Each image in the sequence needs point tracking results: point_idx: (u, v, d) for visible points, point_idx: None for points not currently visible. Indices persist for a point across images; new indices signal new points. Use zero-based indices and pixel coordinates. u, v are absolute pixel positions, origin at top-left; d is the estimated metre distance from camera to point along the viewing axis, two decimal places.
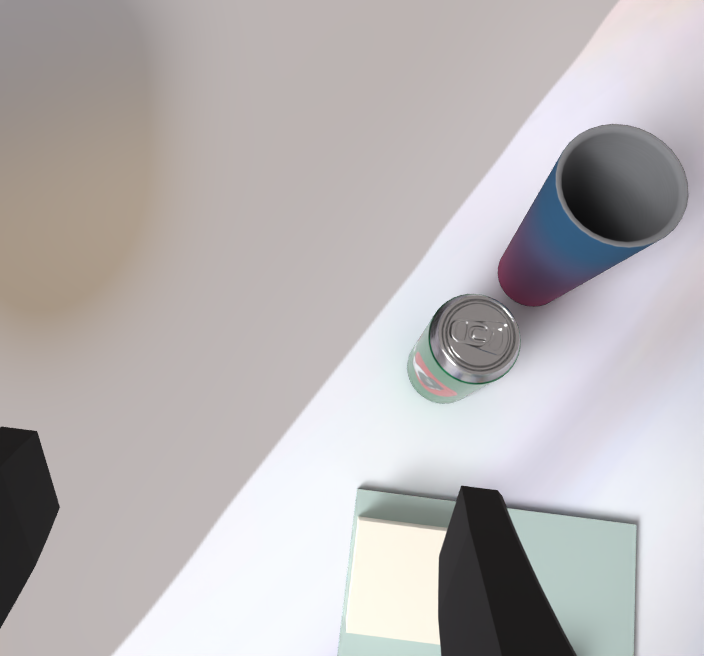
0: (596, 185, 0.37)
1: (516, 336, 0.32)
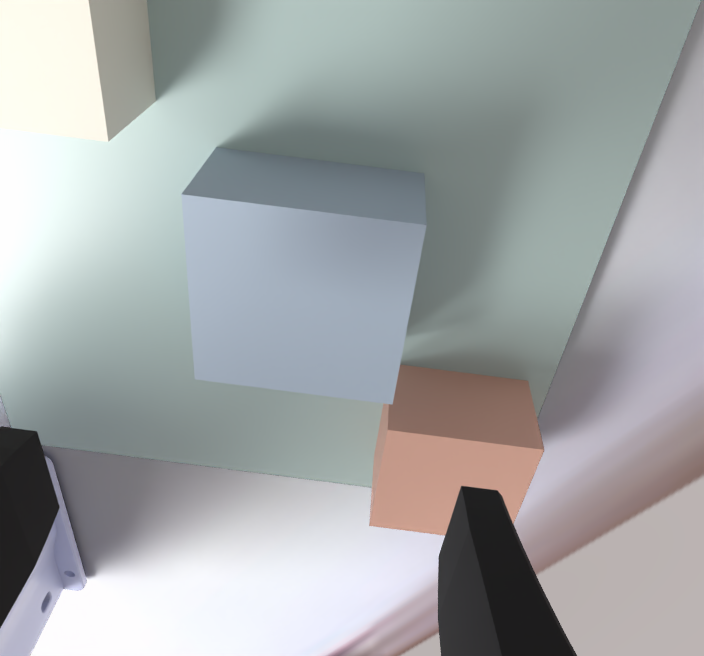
0: None
1: None
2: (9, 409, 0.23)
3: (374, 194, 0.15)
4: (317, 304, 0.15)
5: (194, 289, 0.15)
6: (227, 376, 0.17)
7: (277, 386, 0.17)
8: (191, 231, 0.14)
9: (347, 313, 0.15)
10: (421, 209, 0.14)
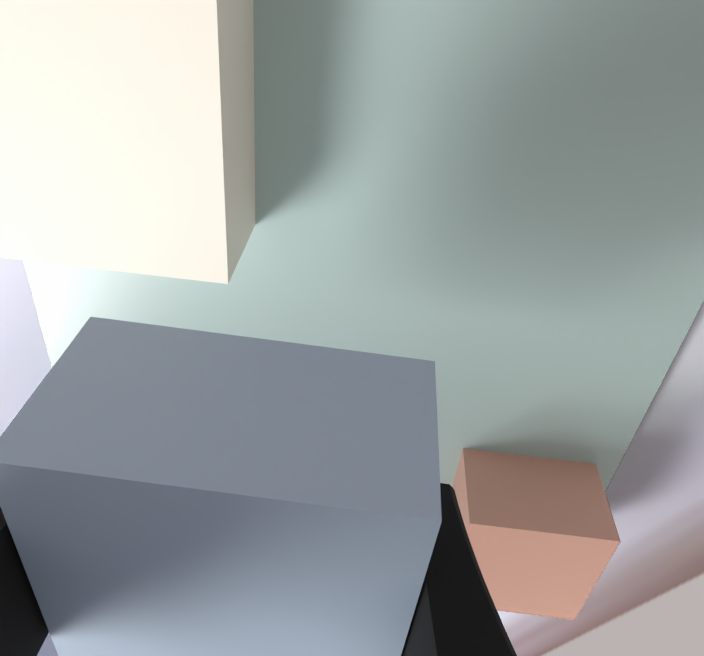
0: None
1: None
2: None
3: (348, 430, 0.08)
4: (250, 607, 0.09)
5: (38, 579, 0.09)
6: None
7: None
8: (14, 510, 0.08)
9: (302, 619, 0.09)
10: (431, 469, 0.08)
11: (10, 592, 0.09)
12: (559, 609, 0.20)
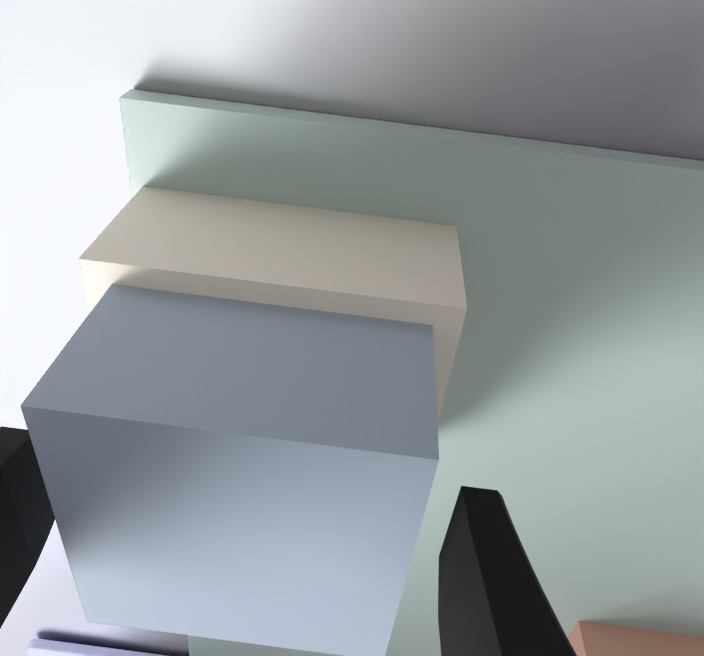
0: None
1: None
2: None
3: (353, 383, 0.09)
4: (262, 549, 0.09)
5: (66, 523, 0.09)
6: (135, 621, 0.11)
7: (211, 630, 0.11)
8: (47, 454, 0.08)
9: (310, 561, 0.10)
10: (429, 417, 0.09)
11: None
12: None
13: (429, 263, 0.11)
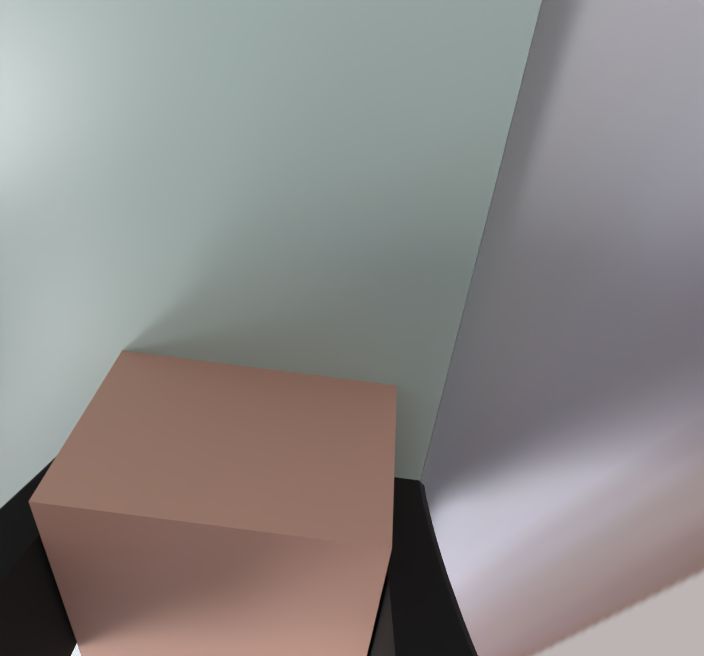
0: None
1: None
2: None
3: None
4: None
5: None
6: None
7: None
8: None
9: None
10: None
11: (46, 597, 0.09)
12: None
13: None
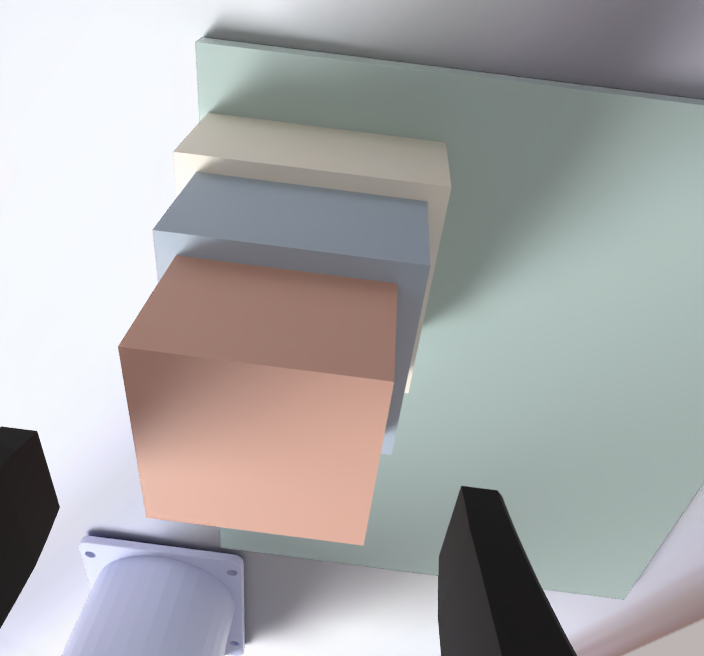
0: None
1: None
2: None
3: (372, 227, 0.13)
4: None
5: None
6: None
7: None
8: (165, 270, 0.12)
9: None
10: (424, 246, 0.13)
11: None
12: (333, 525, 0.12)
13: (425, 162, 0.15)
